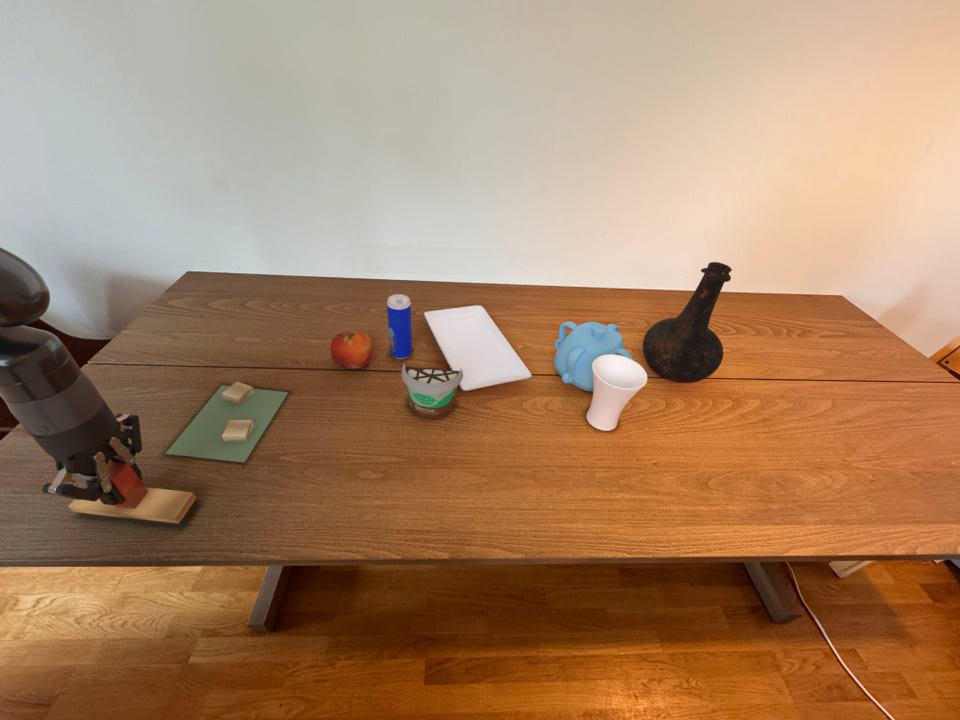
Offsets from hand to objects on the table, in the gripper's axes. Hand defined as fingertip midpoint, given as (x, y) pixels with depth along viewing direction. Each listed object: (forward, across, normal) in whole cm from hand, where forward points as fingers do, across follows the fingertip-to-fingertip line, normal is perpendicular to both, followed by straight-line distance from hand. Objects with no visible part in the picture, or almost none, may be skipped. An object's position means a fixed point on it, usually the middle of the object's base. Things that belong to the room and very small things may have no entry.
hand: (125, 491), depth 62 cm
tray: (+5, -49, +48) cm, 69 cm away
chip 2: (+5, -17, +7) cm, 19 cm away
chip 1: (+5, -26, +2) cm, 27 cm away
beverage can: (+5, -46, +31) cm, 55 cm away
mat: (+5, -20, +4) cm, 21 cm away
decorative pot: (+5, -45, +75) cm, 88 cm away
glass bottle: (+5, -51, +98) cm, 110 cm away
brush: (+5, 0, 0) cm, 5 cm away
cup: (+5, -31, +77) cm, 83 cm away
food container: (+5, -28, +41) cm, 50 cm away
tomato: (+5, -41, +21) cm, 46 cm away
